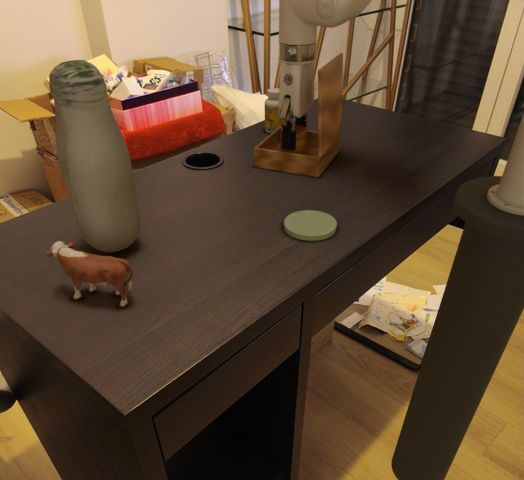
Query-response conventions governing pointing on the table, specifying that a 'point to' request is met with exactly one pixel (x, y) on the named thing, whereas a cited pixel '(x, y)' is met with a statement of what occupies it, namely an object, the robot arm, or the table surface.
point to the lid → (330, 102)
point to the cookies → (299, 141)
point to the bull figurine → (93, 269)
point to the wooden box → (294, 155)
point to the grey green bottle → (94, 157)
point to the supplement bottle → (272, 110)
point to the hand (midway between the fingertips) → (293, 143)
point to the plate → (310, 225)
